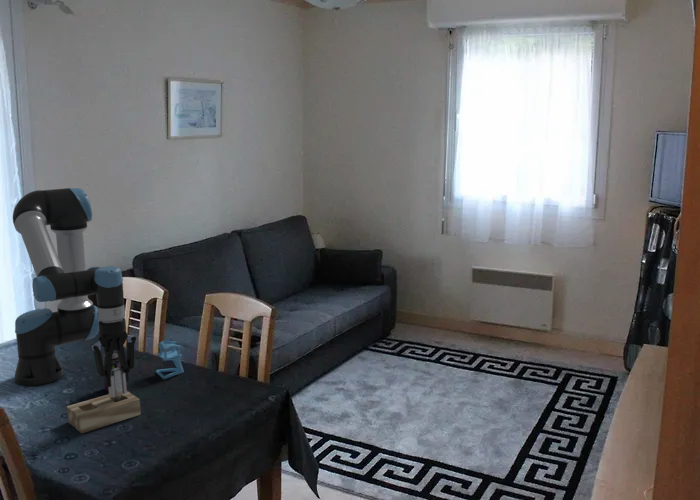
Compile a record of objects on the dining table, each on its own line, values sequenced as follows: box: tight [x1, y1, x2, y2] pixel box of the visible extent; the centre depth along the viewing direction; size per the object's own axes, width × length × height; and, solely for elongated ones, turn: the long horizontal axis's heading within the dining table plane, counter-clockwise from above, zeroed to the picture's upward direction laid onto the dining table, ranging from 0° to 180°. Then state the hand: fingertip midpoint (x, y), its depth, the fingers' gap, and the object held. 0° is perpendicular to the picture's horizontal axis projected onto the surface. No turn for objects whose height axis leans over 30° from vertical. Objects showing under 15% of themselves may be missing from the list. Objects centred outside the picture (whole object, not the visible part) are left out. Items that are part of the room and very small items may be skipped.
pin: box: [111, 368, 124, 402], centre depth 205 cm, size 3×3×12 cm
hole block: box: [66, 390, 142, 434], centre depth 204 cm, size 10×18×5 cm, turn 133°
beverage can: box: [102, 351, 128, 392], centre depth 225 cm, size 7×7×12 cm
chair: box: [155, 339, 184, 380], centre depth 238 cm, size 8×8×12 cm
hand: (117, 394), depth 206 cm, fingers closed on pin, 3 cm apart
